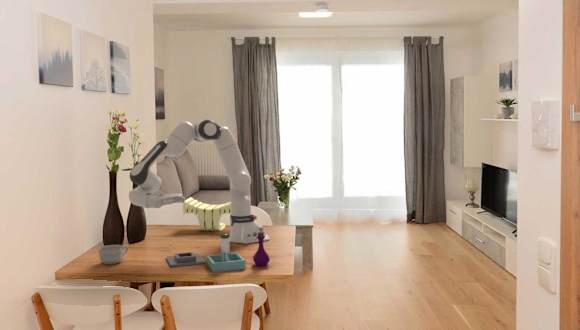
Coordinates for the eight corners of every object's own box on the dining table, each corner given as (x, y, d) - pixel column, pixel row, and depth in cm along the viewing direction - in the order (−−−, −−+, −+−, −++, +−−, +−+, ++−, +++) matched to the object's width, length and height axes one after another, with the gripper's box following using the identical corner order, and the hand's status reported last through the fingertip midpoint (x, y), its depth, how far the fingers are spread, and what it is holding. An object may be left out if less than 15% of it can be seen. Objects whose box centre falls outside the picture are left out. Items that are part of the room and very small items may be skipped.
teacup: (101, 267, 274) (100, 250, 273) (97, 261, 283) (96, 245, 282) (131, 263, 280) (131, 246, 279) (126, 258, 290) (126, 241, 289)
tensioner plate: (198, 255, 293) (198, 249, 293) (205, 263, 278) (204, 257, 278) (166, 258, 288) (165, 252, 287) (170, 267, 273) (170, 260, 272)
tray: (237, 260, 282) (237, 252, 282) (245, 268, 268) (245, 260, 268) (206, 263, 278) (206, 255, 277) (213, 272, 263) (212, 263, 263)
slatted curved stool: (183, 231, 348) (183, 201, 347) (191, 225, 364) (190, 197, 362) (233, 232, 345) (233, 201, 343) (239, 226, 361) (238, 197, 359)
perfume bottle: (253, 263, 278) (252, 225, 276) (269, 262, 278) (268, 225, 277) (253, 267, 270) (252, 228, 268) (269, 267, 271) (269, 228, 269)
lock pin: (229, 262, 276) (228, 233, 274) (231, 264, 271) (230, 235, 270) (219, 263, 274) (219, 233, 273) (221, 265, 270) (221, 235, 269)
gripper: (170, 202, 302) (191, 204, 296) (142, 208, 285) (164, 210, 278) (170, 189, 302) (191, 191, 295) (141, 195, 284) (163, 197, 277)
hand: (178, 201), depth 286 cm, fingers open, 8 cm apart
